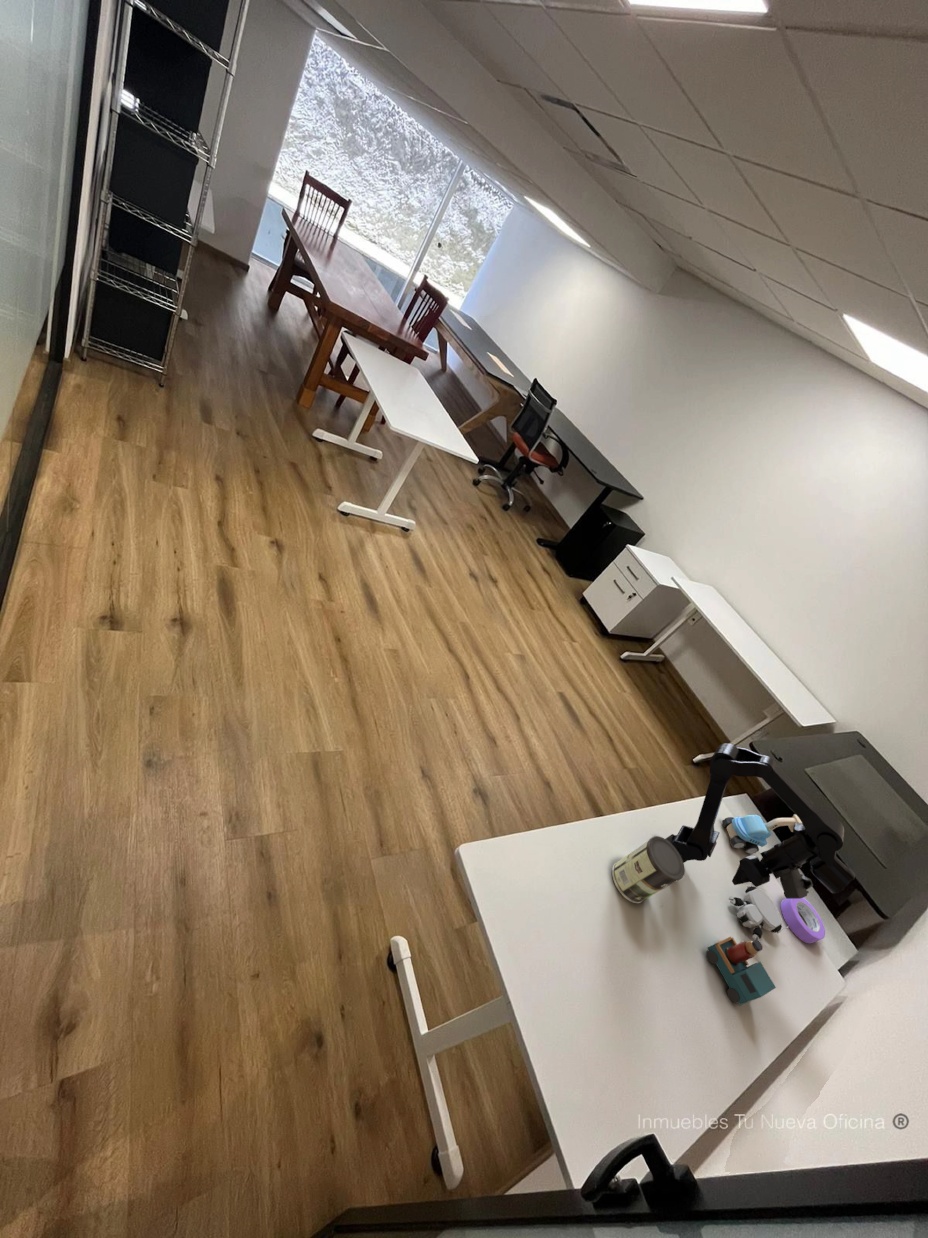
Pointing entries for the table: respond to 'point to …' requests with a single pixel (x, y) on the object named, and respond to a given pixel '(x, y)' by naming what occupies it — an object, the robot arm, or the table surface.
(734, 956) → the figure
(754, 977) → the truck
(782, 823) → the toy excavator
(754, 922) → the robot toy
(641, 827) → the table surface
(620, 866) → the coffee can
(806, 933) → the tape roll
